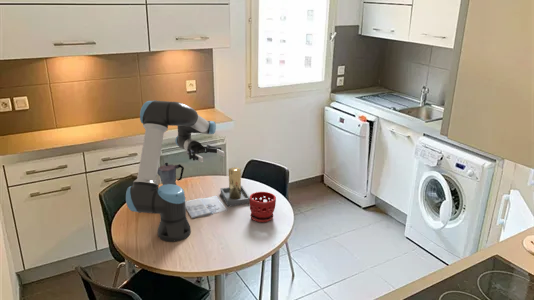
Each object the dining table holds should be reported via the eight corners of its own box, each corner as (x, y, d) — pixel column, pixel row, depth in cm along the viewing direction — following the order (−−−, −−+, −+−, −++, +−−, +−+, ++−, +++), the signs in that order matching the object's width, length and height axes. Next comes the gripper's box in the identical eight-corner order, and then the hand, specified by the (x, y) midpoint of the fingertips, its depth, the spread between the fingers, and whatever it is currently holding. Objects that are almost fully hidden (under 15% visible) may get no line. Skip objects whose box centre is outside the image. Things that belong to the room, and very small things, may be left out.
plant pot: (272, 225, 207) (273, 203, 202) (246, 222, 209) (246, 201, 205) (277, 213, 219) (278, 192, 214) (252, 210, 221) (252, 189, 217)
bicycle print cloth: (181, 203, 228) (181, 200, 227) (217, 197, 236) (217, 193, 235) (191, 220, 212) (191, 216, 211) (229, 212, 220) (229, 208, 219)
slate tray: (250, 203, 228) (250, 198, 227) (228, 206, 224) (228, 201, 223) (242, 190, 243) (242, 185, 242) (220, 193, 239) (220, 188, 238)
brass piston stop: (242, 198, 231) (241, 171, 226) (231, 199, 230) (230, 172, 224) (239, 193, 237) (238, 166, 232) (228, 194, 235) (227, 168, 230)
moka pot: (155, 194, 236) (152, 161, 229) (183, 189, 243) (180, 157, 236) (159, 201, 228) (156, 167, 221) (187, 196, 235) (185, 163, 228)
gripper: (212, 148, 249) (232, 158, 234) (173, 157, 234) (193, 169, 219) (211, 136, 247) (232, 146, 231) (173, 144, 232) (192, 155, 216)
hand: (213, 157), depth 225 cm, fingers open, 13 cm apart
